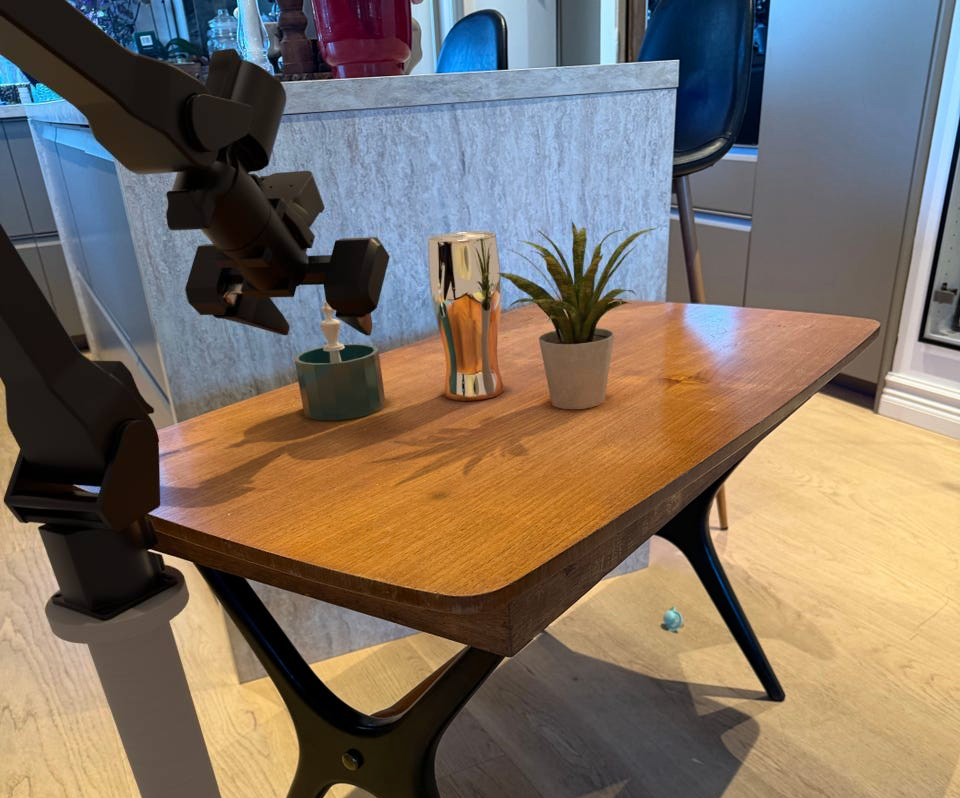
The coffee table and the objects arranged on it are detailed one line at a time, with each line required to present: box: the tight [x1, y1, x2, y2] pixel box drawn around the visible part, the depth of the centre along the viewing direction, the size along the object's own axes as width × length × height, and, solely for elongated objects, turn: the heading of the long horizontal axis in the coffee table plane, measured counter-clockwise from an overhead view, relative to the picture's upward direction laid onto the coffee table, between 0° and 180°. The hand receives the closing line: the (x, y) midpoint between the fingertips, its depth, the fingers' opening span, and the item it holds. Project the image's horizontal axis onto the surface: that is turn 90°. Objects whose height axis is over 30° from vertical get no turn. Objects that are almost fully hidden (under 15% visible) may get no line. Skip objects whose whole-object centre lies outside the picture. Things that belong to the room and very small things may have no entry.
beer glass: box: [427, 230, 504, 402], centre depth 89 cm, size 7×7×15 cm
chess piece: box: [319, 300, 345, 363], centre depth 88 cm, size 5×5×10 cm
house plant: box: [498, 221, 658, 410], centre depth 84 cm, size 14×14×16 cm
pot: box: [293, 343, 386, 422], centre depth 90 cm, size 8×8×6 cm
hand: (327, 331), depth 87 cm, fingers open, 9 cm apart
